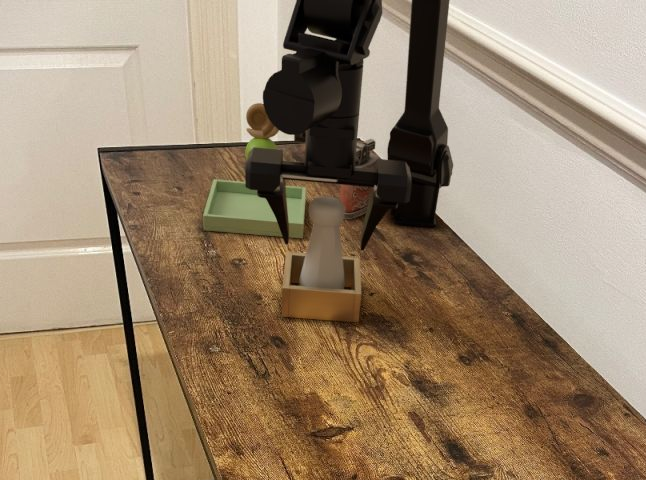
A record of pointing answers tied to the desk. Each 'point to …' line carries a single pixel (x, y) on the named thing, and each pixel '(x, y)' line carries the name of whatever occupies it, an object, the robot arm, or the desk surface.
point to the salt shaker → (324, 245)
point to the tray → (251, 210)
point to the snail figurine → (259, 129)
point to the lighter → (358, 196)
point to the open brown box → (321, 293)
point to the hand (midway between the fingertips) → (324, 245)
